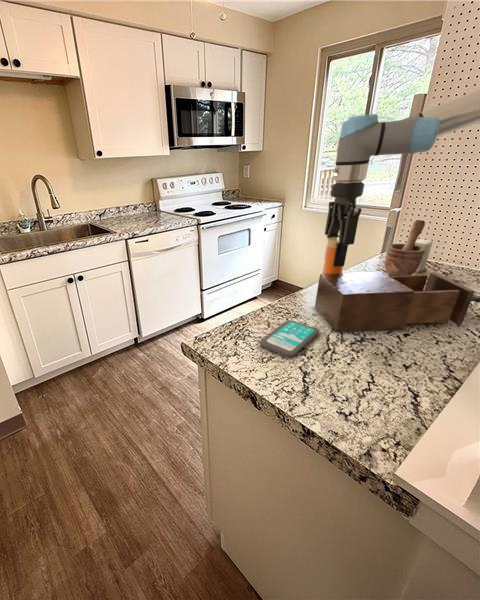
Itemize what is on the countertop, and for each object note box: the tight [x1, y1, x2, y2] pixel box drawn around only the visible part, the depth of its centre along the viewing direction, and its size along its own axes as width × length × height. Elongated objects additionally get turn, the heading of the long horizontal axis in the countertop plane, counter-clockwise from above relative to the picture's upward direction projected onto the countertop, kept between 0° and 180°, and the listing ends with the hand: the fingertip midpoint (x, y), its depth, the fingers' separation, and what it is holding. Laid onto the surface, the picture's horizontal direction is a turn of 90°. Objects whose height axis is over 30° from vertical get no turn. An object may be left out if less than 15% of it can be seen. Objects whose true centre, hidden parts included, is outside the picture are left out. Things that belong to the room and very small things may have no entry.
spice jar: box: [321, 237, 344, 274], centre depth 94 cm, size 5×5×15 cm
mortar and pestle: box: [384, 219, 426, 276], centre depth 94 cm, size 12×9×20 cm
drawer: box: [388, 271, 480, 325], centre depth 79 cm, size 19×12×9 cm, turn 84°
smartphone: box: [260, 319, 319, 358], centre depth 77 cm, size 9×1×15 cm
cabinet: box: [314, 270, 415, 333], centre depth 81 cm, size 16×14×11 cm
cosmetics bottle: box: [415, 238, 434, 273], centre depth 107 cm, size 5×4×10 cm
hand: (333, 262), depth 93 cm, fingers closed on spice jar, 5 cm apart
